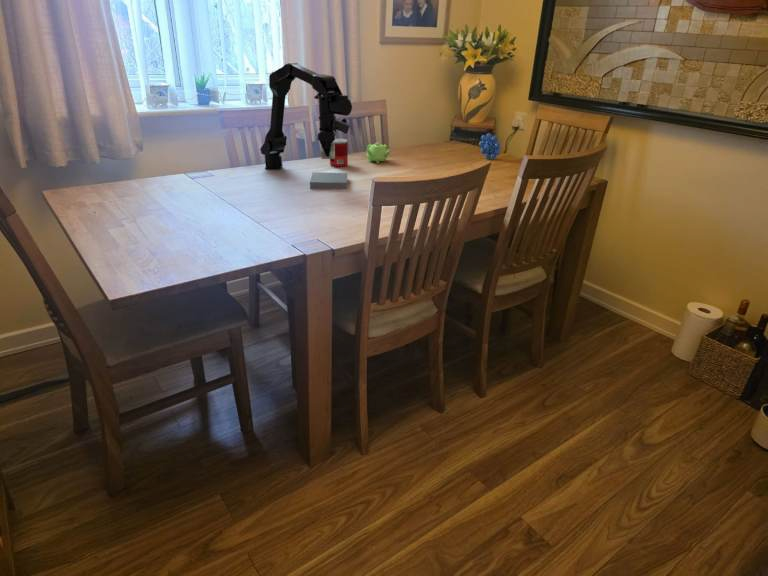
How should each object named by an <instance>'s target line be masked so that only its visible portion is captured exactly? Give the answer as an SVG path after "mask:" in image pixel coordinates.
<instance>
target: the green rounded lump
mask: <svg viewBox="0 0 768 576" xmlns="http://www.w3.org/2000/svg"><path fill="white" fill-rule="evenodd" d="M387 148H388V145H387V144H380V142H374V144H368V145H367V147H366V150H365V151H366V158H367V159H368V161H369V163H372V162H375V164H380V163H381V162H383V163H384V162H386V160H387V158H388V156H389V155H390V153H391V152H392V149H391V148H389V149H388V150H387Z"/></svg>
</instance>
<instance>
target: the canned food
mask: <svg viewBox="0 0 768 576" xmlns="http://www.w3.org/2000/svg"><path fill="white" fill-rule="evenodd" d="M332 143H335V159H329V164H330V166H331V167H332V166H334V167H333V168H345V167H347V166H348V164H349V162H348V157H349V156H348V155H349V152H348V151H349V149H348V146H349V145H348V143H349V142H348V139H346V138H335V140H334V141H333V142H332Z"/></svg>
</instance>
